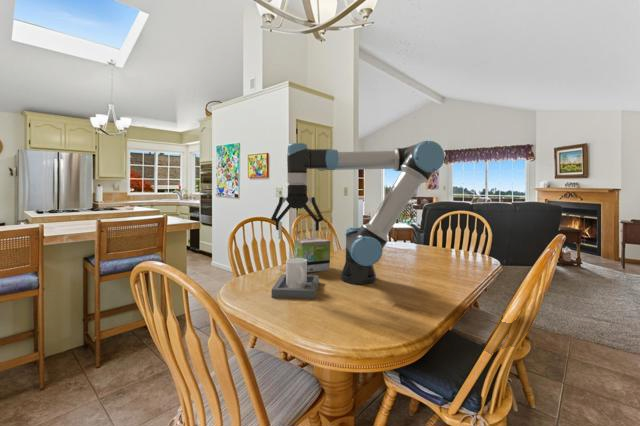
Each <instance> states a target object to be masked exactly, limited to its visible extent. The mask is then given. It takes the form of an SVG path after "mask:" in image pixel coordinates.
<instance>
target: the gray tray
mask: <svg viewBox="0 0 640 426" xmlns="http://www.w3.org/2000/svg"><path fill="white" fill-rule="evenodd" d="M319 283H320V275H319V274H317V275H316V274H307V285H306V286H305V287H303V288H289V287H288V286H287V285H286V273H285V274H283V273H281V275H280V276H279V278H278V279H277V280H276V281H275V283H274V284H273V287H272V288H271V298H277V299H279V298H283V299H285V298H286V299H287V298H288V299H309V300H310V299H314V300H316V296H317V292H318V287H319Z"/></svg>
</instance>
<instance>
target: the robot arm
mask: <svg viewBox="0 0 640 426" xmlns="http://www.w3.org/2000/svg"><path fill="white" fill-rule="evenodd" d="M286 156H287V158H286V159H287V160H286V161H287V165H286V166H287V168H286V169H287V173H286V174H287V179H286V180H287V181H286V182H287V184H288V185H287V196H286V197H284V196H279V199H278V204H277V206H276V207H275V210H274V211H273V214H272V216H271V218H270V220H271V221H273V222H275V230H276V231H278V240H281V239H283V233H282V232H283V222H282V221H281V220H282V219H283V218H284V216H286V214H287V213H288V212H289V210H291V208H292V209H300V210H301V209H304V210H305V211H306V213H307V214H308V215H309V216H310V217H311V218H312V220H313V224H312V225H313V232H312V233H313V234H312V235H313V238H312V239H313V240H315V239H316V238H317V232H318V231H319V229H320V223H321V222H323V221H324V216H323V215H322V213H321V211H320V209H319V206H318V205H317V203H316V197H315V196H312V197H311V196H310V197H309V196H308V186H307V184H308V170H318V171H320V172H321V171H322V172H323V171H342V170H343V171H344V170H345V171H346V170H348V171H349V170H353V171H354V170H394V172H400V174H399V175H398V177H397V179H396V180H395V182H394V183H393V185H392V186H391V188H390V189H389V191H388V192H387V194H386V195H385V197H384V198H383V200H382V202H381V203H380V204H379V206H378V208H377V209H376V211H375V212H374V214H373V215H372V216H371V218H370V220H369V221H368V222H367V223H364V224H362V225H361V226H360V227H347V228H346V230H345V261H344V265H343V268H342V271H341V275H340V277H341V278H340V279H341V281H343V282H345V283H348V284H352V285H353V284H354V285H367V284H368V285H369V284H373V283H375V282H376V281H377V280H376V279H377V274H376V271H375V268H374V265H375V264H377V263H378V262H379V261H380V260H381V259H382V256H383V250H384V247H385V246H386V244H387V243H388V235H389V233H390V231H391V230H392V228H393V226H394V225H395V224H396V222H397V221H398V219H399V218H400V216H401V215H402V214H403V211H404V210H405V208H406V207H407V205H408V204H409V203H410V201H411V199H412V198H413V196H414V195H415V193H416V192H417V190H418V189H419V188H420V186H421V185H422V184H423V183H427V182H428V181H429V179H430V178H431V176H432V175H433V173H434V172H437V171H438V170H439V169H440V168H441V167H442V166H443V165H444V161H445V157H446V155H445V151H444V149H443V147H442V146H441V145H440V144H439V143H437V142H436V141H434V140H423V141H420V142H418V143H416V144H413V145H410V146H406V147H401V148H400V147H398V148H395V149H393V150H377V151H375V150H373V151H372V150H371V151H369V150H368V151H338V150H337V149H334V148H333V149H332V148H324V149H323V148H314V149H312V148H308V145H307V143H304V142H302V143H299V142H295V143H294V142H293V143H289V144H288V145H287V155H286ZM285 201H286V202H287V204H288V205H287V206H286V207H285V208H284V209H283V211H282V212H281V213H280V214H279V212H280V210H281V208H282V206H283V203H285ZM308 202H309V203H310V204H312V207H313V208H314V211H315V213H316V215H317V216H318V217H317V216H316V215H315V213H314V212H313V211H312V210H311V209H310V207H309V205H307V203H308ZM278 214H279V215H278Z"/></svg>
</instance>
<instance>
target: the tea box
mask: <svg viewBox="0 0 640 426" xmlns="http://www.w3.org/2000/svg"><path fill="white" fill-rule="evenodd" d="M293 250H294V251H293V252H294V253H293V258H303V259H306V260H307V273H313V272H314V273H315V272H323V271H324V272H325V271H330V266H331V265H330V264H331V241H330V240H329V239H326V238H322V237H316V239H315V240H313V238H299V239H294V248H293Z"/></svg>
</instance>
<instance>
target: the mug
mask: <svg viewBox="0 0 640 426" xmlns="http://www.w3.org/2000/svg"><path fill="white" fill-rule="evenodd" d="M285 274H286V285H287V286H288V287H289V288H303V287H305V286H306V285H307V275H308V272H307V260H306V259H303V258H294V257H292V258H287V259H286V260H285Z"/></svg>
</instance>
